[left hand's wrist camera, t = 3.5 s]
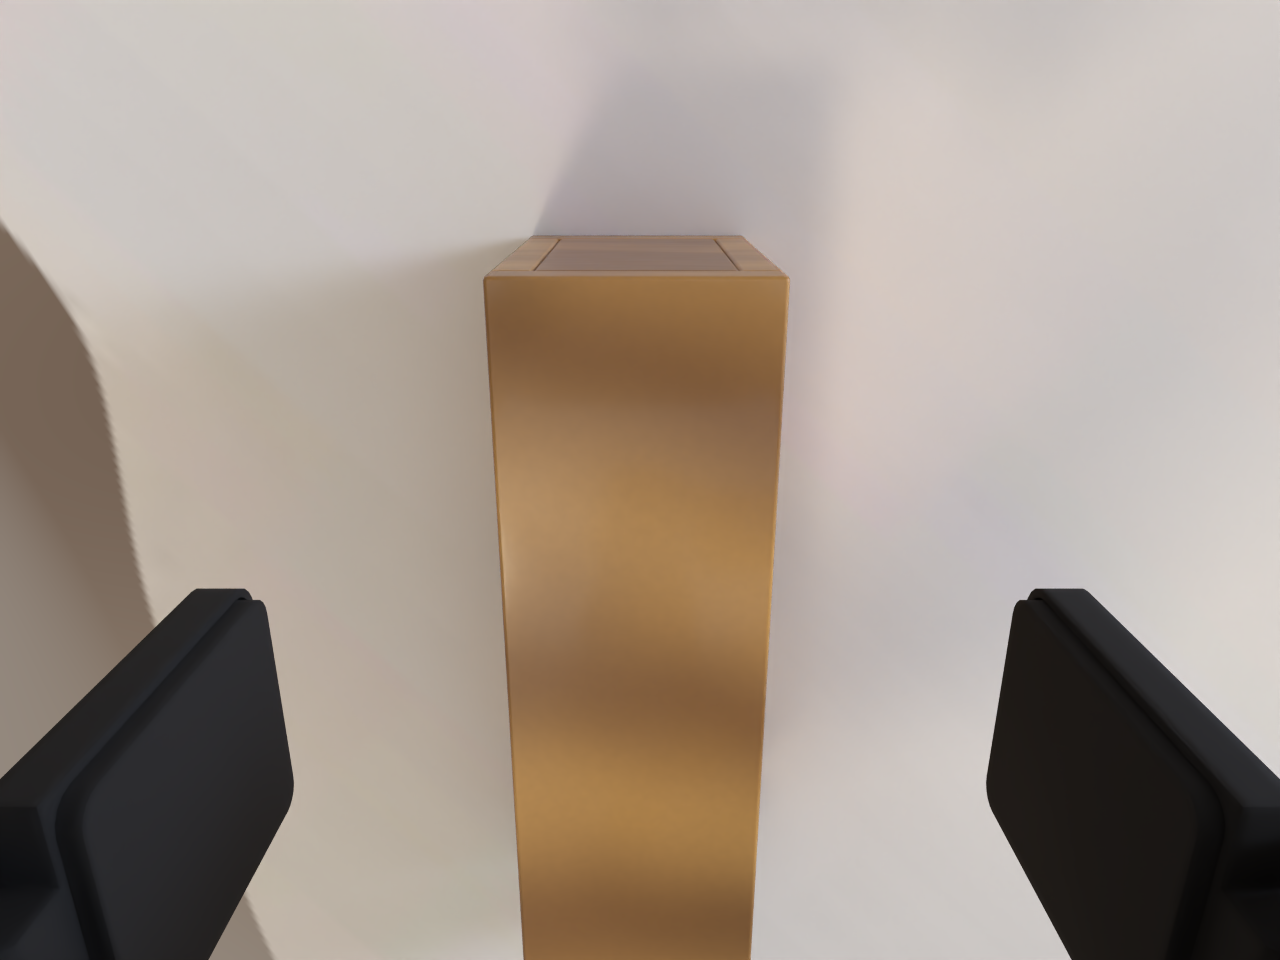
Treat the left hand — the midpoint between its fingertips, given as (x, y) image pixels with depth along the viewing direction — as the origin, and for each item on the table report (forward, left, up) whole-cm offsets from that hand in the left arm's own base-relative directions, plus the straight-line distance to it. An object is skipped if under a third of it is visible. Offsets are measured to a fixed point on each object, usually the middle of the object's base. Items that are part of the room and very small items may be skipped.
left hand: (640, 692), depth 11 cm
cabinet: (+4, -5, -17) cm, 18 cm away
